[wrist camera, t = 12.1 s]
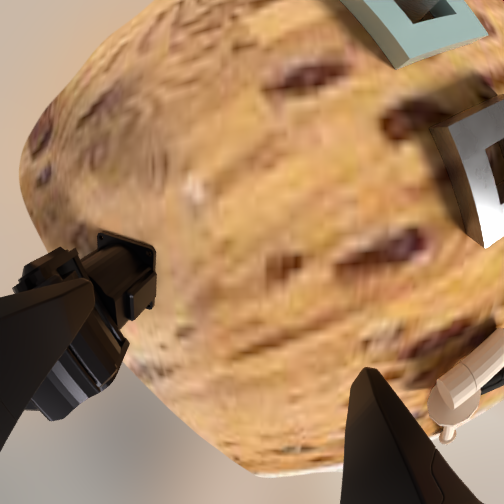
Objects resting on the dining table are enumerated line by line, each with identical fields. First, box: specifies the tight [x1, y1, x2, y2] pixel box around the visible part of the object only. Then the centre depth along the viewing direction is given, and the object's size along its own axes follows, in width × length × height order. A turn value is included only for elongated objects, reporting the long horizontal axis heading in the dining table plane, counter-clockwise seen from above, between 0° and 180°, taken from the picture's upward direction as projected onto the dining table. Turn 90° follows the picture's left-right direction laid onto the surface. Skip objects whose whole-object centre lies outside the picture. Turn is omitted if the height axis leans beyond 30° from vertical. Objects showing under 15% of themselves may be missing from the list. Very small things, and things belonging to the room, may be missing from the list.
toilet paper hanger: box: [427, 328, 504, 444], centre depth 21 cm, size 21×11×7 cm, turn 30°
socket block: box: [429, 94, 504, 248], centre depth 12 cm, size 9×9×3 cm
